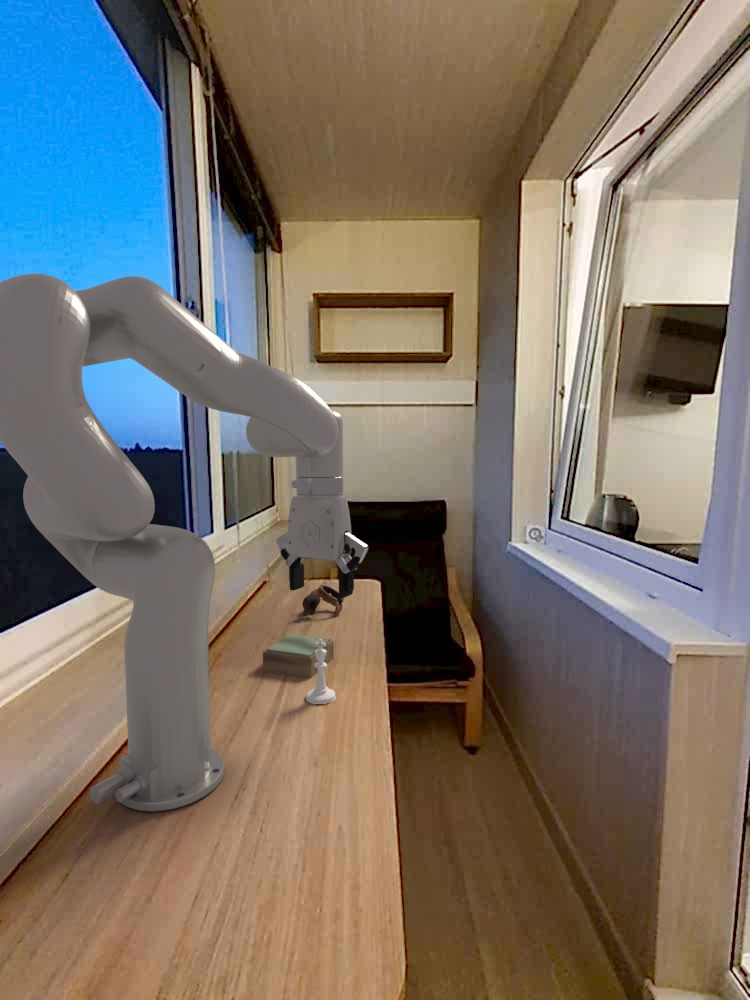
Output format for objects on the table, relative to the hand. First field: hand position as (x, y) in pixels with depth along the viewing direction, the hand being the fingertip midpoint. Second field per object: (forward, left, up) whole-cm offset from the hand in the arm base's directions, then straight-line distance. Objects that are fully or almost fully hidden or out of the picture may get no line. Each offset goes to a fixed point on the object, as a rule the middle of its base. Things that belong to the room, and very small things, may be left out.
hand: (320, 592), depth 89 cm
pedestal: (+10, +12, -18) cm, 24 cm away
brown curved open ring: (+39, +28, -18) cm, 51 cm away
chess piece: (0, 0, -18) cm, 18 cm away
